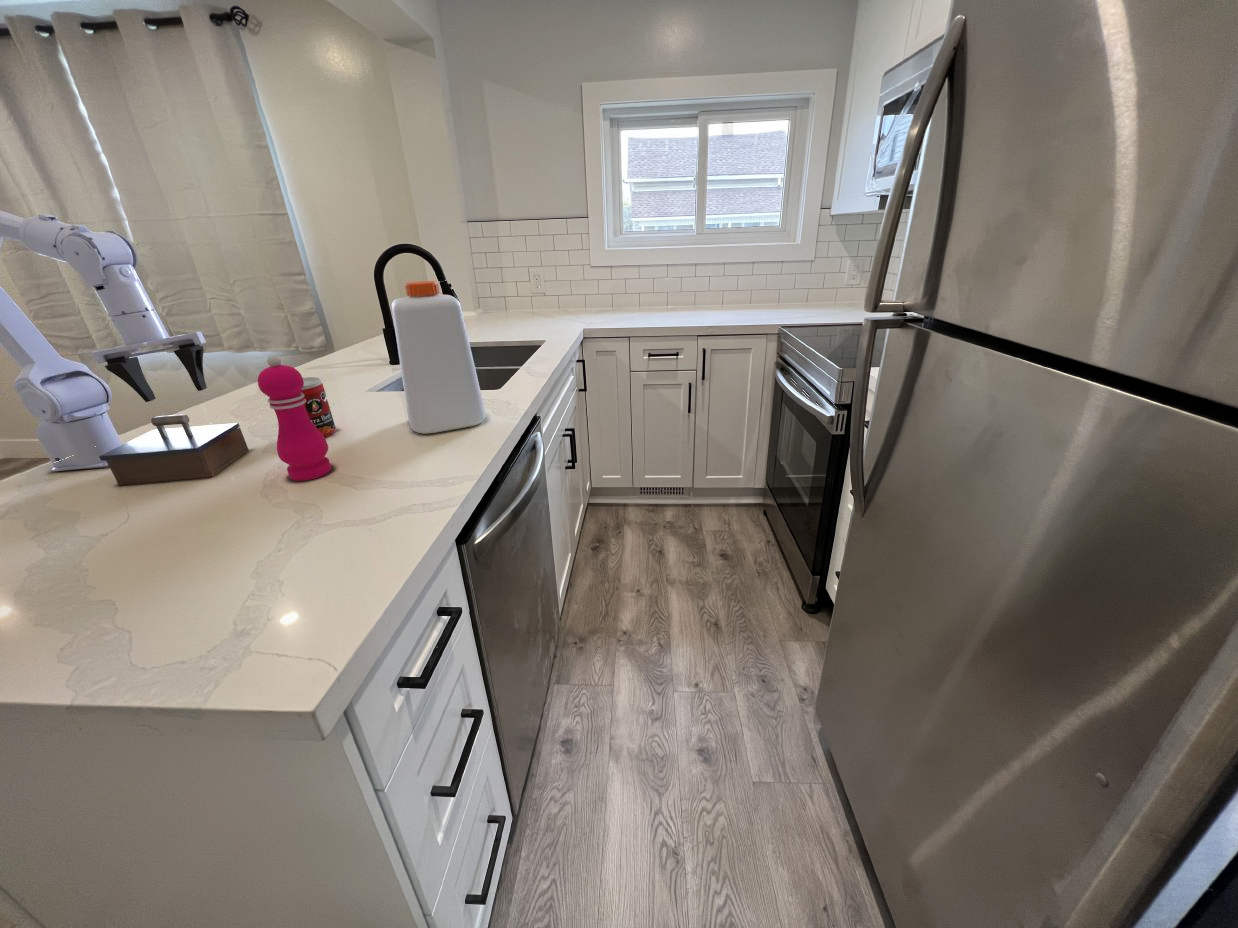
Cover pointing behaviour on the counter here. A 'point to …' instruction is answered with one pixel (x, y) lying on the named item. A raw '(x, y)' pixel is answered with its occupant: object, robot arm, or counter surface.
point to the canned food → (318, 406)
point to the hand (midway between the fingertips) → (177, 395)
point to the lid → (171, 439)
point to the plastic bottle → (436, 361)
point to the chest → (181, 463)
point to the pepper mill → (294, 422)
